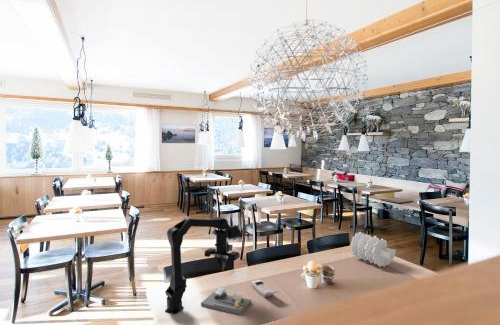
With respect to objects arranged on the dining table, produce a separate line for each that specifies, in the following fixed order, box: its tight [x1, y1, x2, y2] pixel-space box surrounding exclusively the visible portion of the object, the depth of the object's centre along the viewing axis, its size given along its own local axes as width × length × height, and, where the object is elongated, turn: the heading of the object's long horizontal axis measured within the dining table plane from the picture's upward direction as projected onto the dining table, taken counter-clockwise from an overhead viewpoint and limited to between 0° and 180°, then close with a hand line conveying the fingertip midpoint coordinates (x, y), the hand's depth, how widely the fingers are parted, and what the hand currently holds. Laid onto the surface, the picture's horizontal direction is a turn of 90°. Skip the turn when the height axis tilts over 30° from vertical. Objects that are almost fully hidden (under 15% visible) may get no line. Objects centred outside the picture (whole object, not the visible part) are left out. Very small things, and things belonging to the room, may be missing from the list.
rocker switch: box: [215, 286, 227, 296], centre depth 157 cm, size 3×5×1 cm, turn 155°
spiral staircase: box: [349, 231, 397, 268], centre depth 202 cm, size 18×18×25 cm
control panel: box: [200, 291, 252, 316], centre depth 152 cm, size 22×12×3 cm, turn 65°
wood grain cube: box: [235, 300, 241, 309], centre depth 146 cm, size 2×3×3 cm
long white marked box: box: [250, 279, 281, 298], centre depth 164 cm, size 6×6×25 cm
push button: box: [232, 292, 243, 301], centre depth 153 cm, size 4×4×2 cm
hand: (222, 269), depth 163 cm, fingers closed
